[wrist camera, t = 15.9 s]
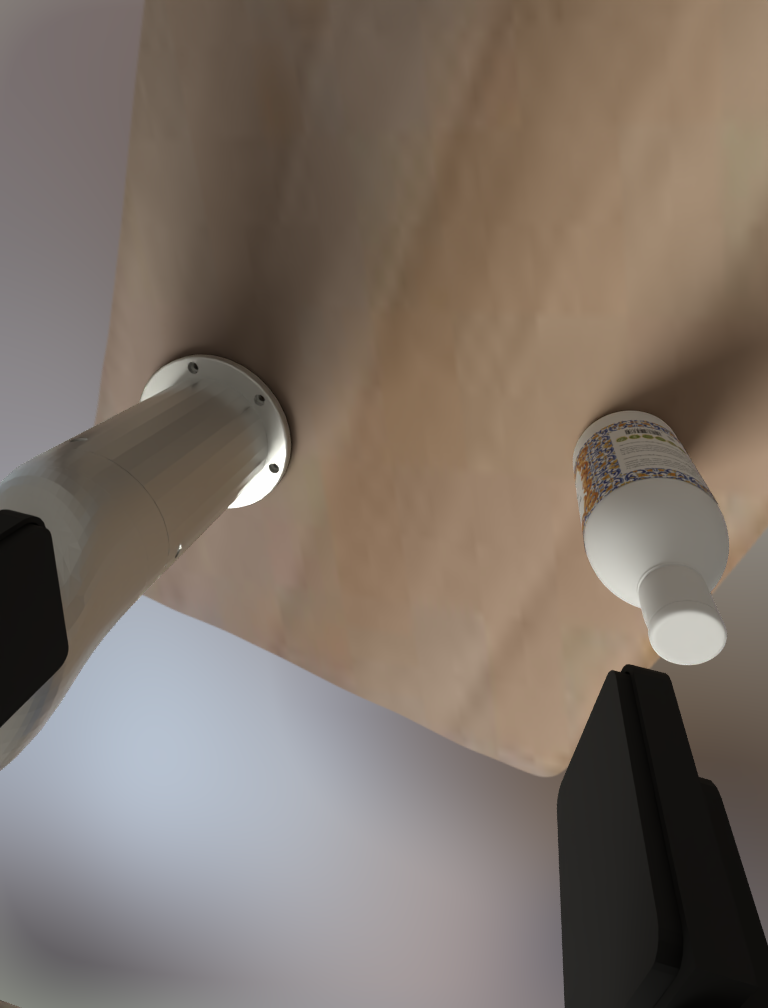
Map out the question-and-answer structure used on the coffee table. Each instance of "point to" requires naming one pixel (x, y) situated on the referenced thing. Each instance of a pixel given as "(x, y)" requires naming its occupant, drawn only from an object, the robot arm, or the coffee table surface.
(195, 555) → the coffee table surface
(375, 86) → the coffee table surface
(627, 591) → the bath foam
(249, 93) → the coffee table surface
